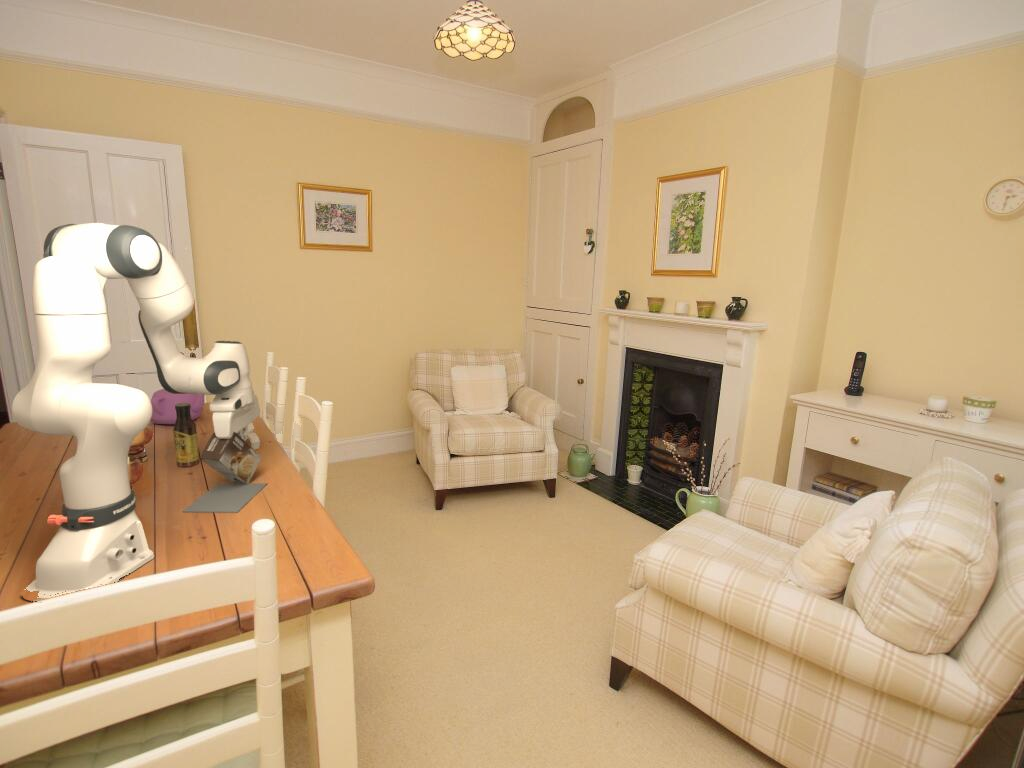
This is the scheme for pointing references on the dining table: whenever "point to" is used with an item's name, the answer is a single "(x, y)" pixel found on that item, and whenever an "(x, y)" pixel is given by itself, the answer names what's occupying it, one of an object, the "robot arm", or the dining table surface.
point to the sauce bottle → (185, 437)
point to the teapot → (166, 403)
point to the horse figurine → (253, 437)
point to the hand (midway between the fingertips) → (242, 442)
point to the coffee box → (231, 458)
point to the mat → (226, 498)
